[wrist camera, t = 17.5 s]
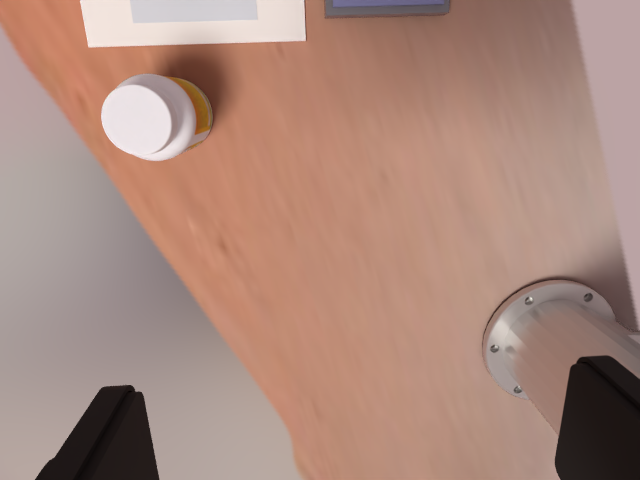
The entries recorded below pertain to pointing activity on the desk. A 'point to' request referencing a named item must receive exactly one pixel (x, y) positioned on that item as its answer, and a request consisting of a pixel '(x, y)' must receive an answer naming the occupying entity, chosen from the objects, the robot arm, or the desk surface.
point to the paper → (191, 22)
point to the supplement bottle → (156, 116)
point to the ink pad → (384, 8)
